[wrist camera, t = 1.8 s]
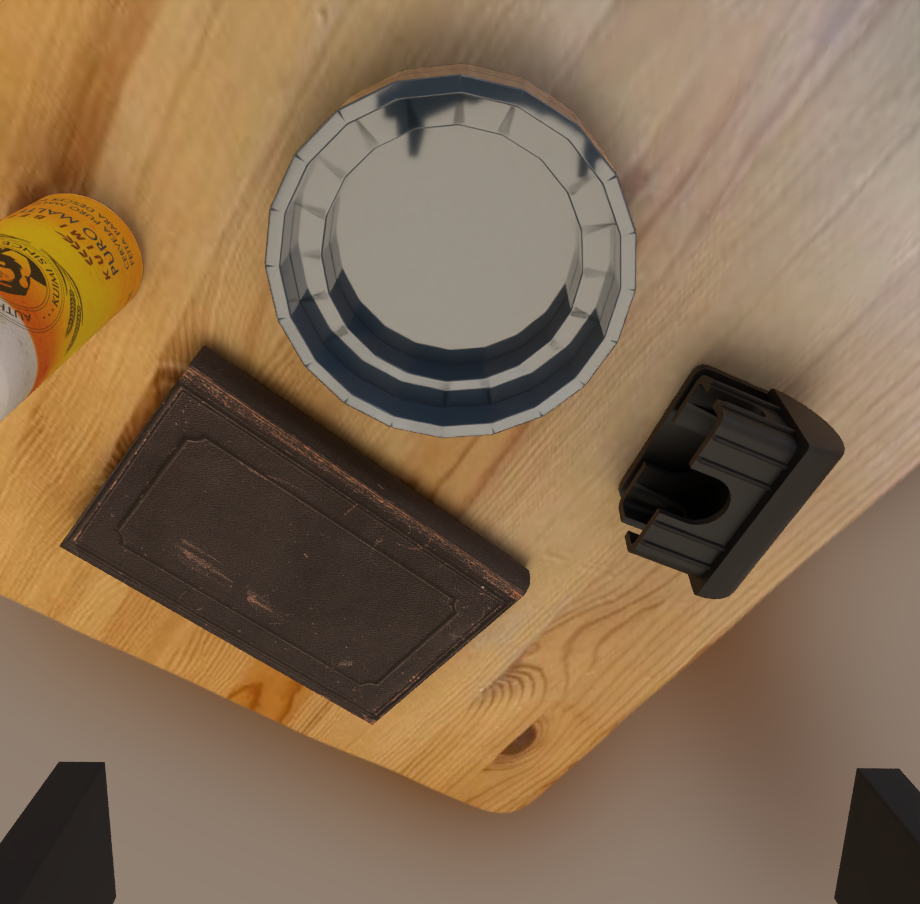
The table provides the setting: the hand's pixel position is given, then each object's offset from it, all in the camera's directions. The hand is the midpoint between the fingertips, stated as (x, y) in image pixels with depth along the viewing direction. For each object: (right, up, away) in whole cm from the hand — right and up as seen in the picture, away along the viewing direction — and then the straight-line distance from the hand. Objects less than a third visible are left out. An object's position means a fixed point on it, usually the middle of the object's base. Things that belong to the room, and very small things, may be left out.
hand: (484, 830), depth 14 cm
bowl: (-1, +17, +26) cm, 31 cm away
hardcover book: (-10, +1, +36) cm, 37 cm away
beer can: (-19, +17, +27) cm, 37 cm away
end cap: (+14, +7, +31) cm, 35 cm away
